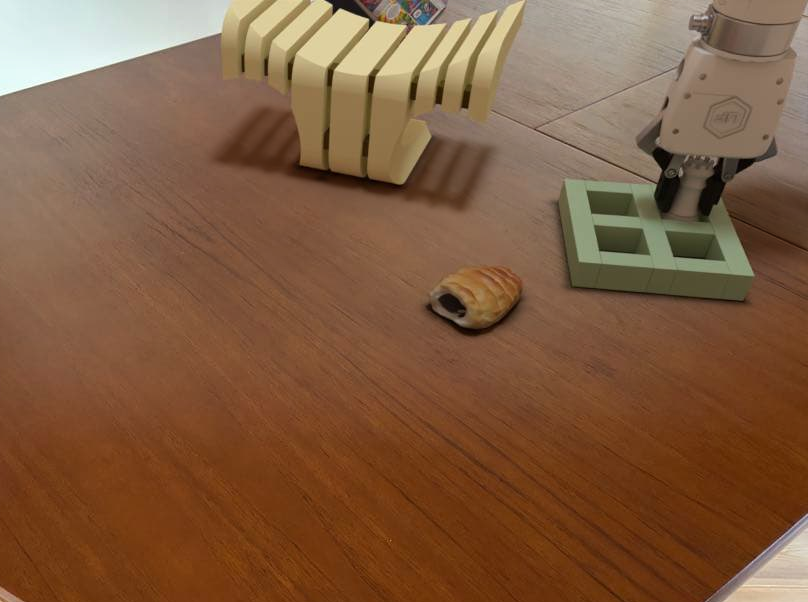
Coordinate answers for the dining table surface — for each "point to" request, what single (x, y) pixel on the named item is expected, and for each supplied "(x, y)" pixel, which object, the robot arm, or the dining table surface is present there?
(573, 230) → the window frame
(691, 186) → the rook chess piece
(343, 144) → the slatted curved stool
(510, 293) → the pastry
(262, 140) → the dining table surface
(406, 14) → the colorful printed box
